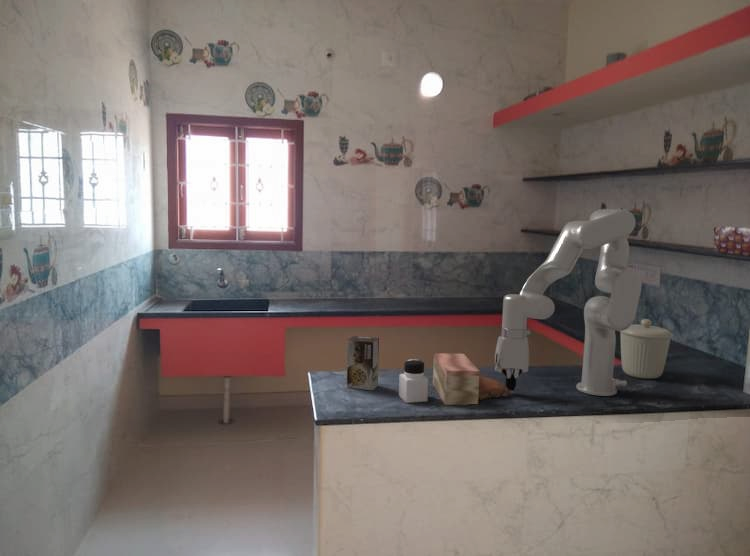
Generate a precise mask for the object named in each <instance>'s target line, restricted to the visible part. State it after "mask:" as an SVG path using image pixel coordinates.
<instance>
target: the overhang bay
mask: <svg viewBox="0 0 750 556" xmlns="http://www.w3.org/2000/svg"><path fill="white" fill-rule="evenodd" d="M432 370H433V371H432V372H433V374H432V375H433V376H432V385H433V386H434V388H435V390H436V391H437V393H438V395H439V397H440V398H441V401H442V402H443V403H444V405H445V406H449V405H450V406H451V405H453V406H455V405H456V406H470V405H469V404H478V405H479V399H478V393H479V376H480V372H481V371H480V370H479V368H477V366H476V365H474V363H473V362H472V361H471V360H470V359H469V357H467V356H466V354H464V353H437V352H436V353H433V369H432ZM467 404H468V405H467Z"/></svg>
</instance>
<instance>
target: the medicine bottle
mask: <svg viewBox="0 0 750 556" xmlns="http://www.w3.org/2000/svg"><path fill="white" fill-rule="evenodd" d="M403 367H404V369H403V371H404V372H403V373H399V376H398V380H399V381H398V396H399V397H400V398H401V400H403V402H405V404H410V403H424V402H425V403H426V402H429V400H428V398H429V381H430V380H429V378H428V377H426V376H425V375H424V374H425V363H424V361H422V360H419V359H415V358H414V359H408V360H405V361H404V366H403Z"/></svg>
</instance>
